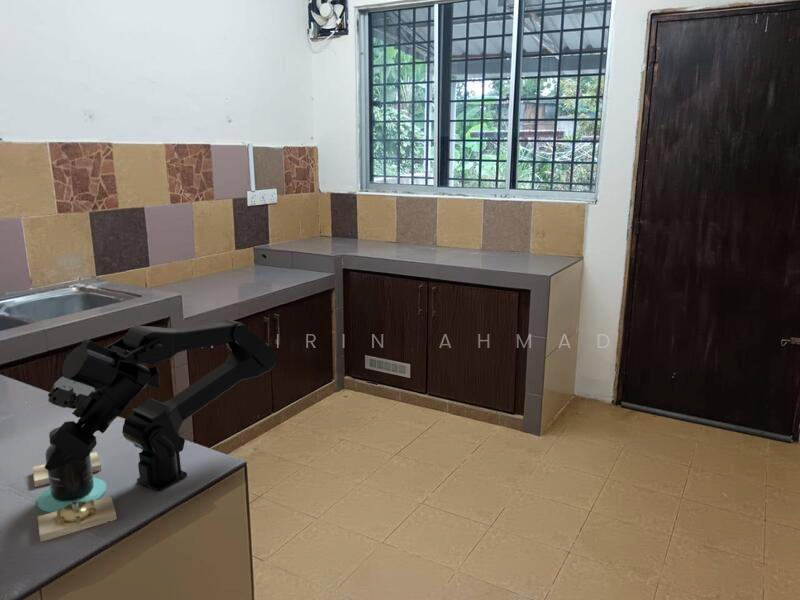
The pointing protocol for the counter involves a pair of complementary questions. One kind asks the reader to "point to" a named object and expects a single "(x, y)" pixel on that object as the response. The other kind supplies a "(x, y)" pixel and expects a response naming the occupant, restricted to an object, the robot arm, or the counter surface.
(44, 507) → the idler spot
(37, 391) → the counter surface
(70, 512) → the brass gears
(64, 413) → the counter surface
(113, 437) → the counter surface
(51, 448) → the supplement bottle
